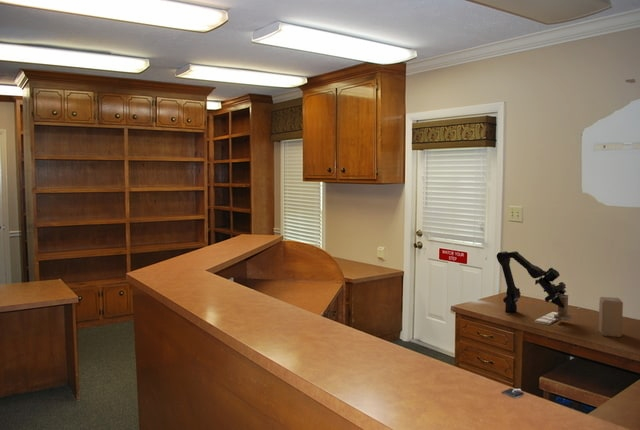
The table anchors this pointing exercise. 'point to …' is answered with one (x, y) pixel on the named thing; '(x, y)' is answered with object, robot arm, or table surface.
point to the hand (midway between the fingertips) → (565, 307)
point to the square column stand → (563, 309)
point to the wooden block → (610, 316)
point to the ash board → (547, 319)
